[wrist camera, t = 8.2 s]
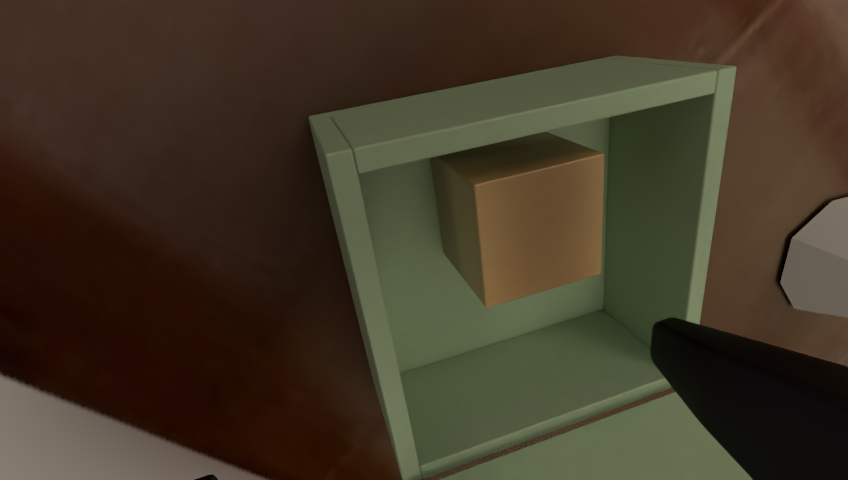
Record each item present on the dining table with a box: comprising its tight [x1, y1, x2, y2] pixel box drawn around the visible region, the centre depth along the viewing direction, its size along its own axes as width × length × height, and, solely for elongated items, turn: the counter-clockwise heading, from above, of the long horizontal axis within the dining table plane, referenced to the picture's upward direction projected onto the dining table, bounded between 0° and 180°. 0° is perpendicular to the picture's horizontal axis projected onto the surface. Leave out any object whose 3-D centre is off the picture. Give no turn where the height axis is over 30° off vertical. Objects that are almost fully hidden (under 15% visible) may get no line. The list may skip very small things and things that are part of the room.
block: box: [431, 132, 604, 308], centre depth 17 cm, size 4×4×4 cm
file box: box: [308, 56, 736, 480], centre depth 18 cm, size 12×12×6 cm
